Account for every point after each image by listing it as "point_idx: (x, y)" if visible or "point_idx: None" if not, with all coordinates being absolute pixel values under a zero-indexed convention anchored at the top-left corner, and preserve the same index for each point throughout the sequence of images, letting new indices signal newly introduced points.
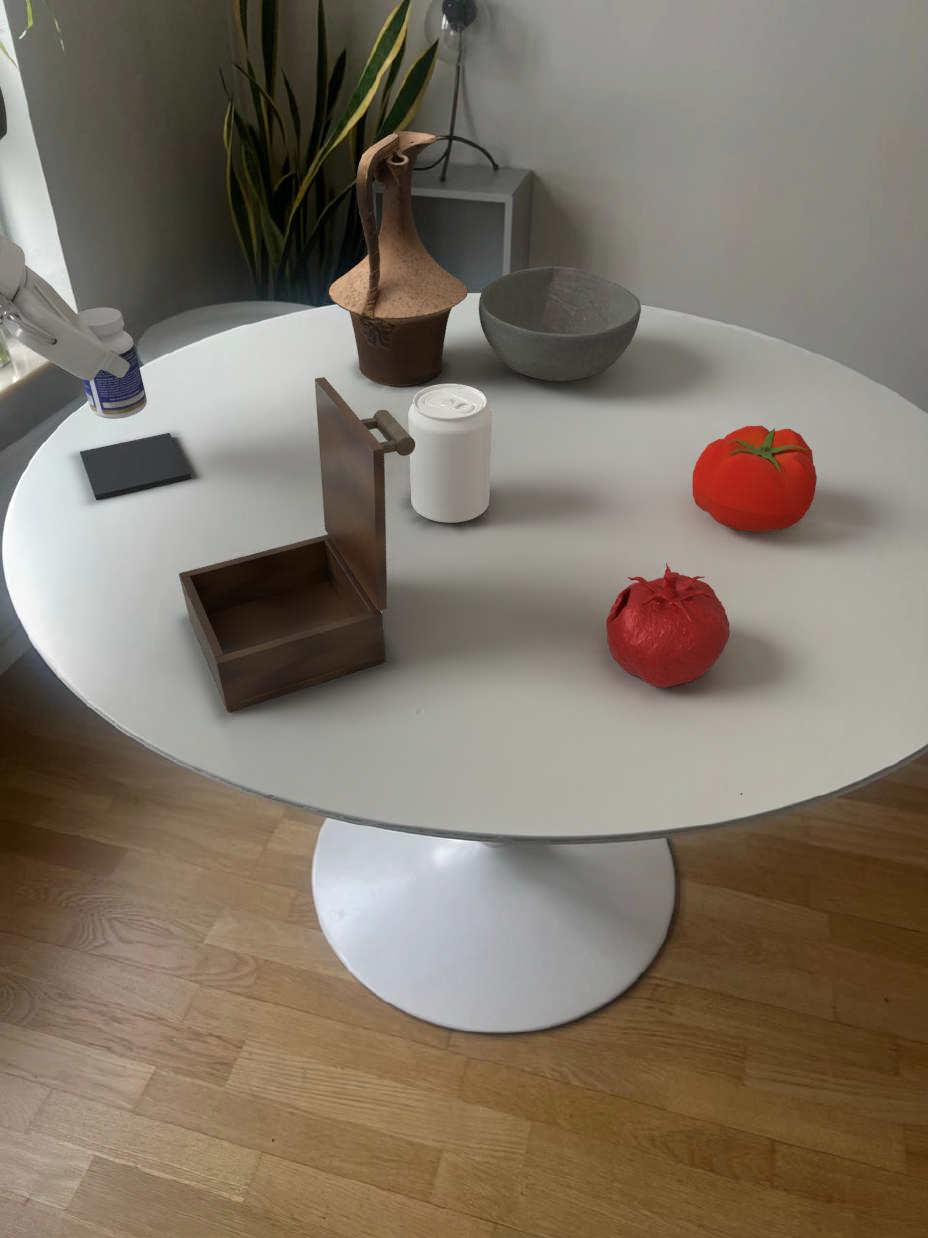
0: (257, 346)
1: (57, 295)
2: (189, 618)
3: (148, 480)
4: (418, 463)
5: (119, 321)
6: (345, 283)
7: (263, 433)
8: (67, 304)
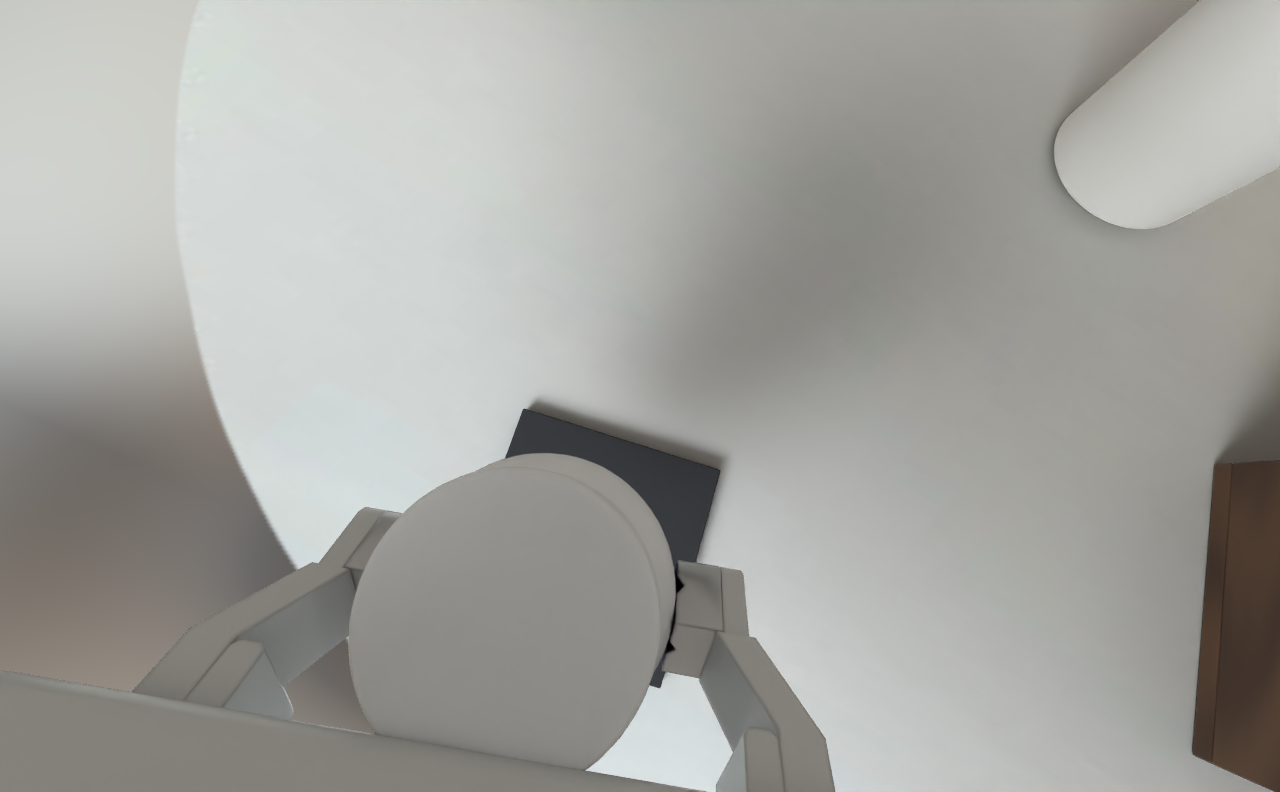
0: (294, 43)
1: (66, 777)
2: (1201, 758)
3: (684, 557)
4: (1272, 156)
5: (633, 530)
6: None
7: (655, 256)
8: (240, 748)
